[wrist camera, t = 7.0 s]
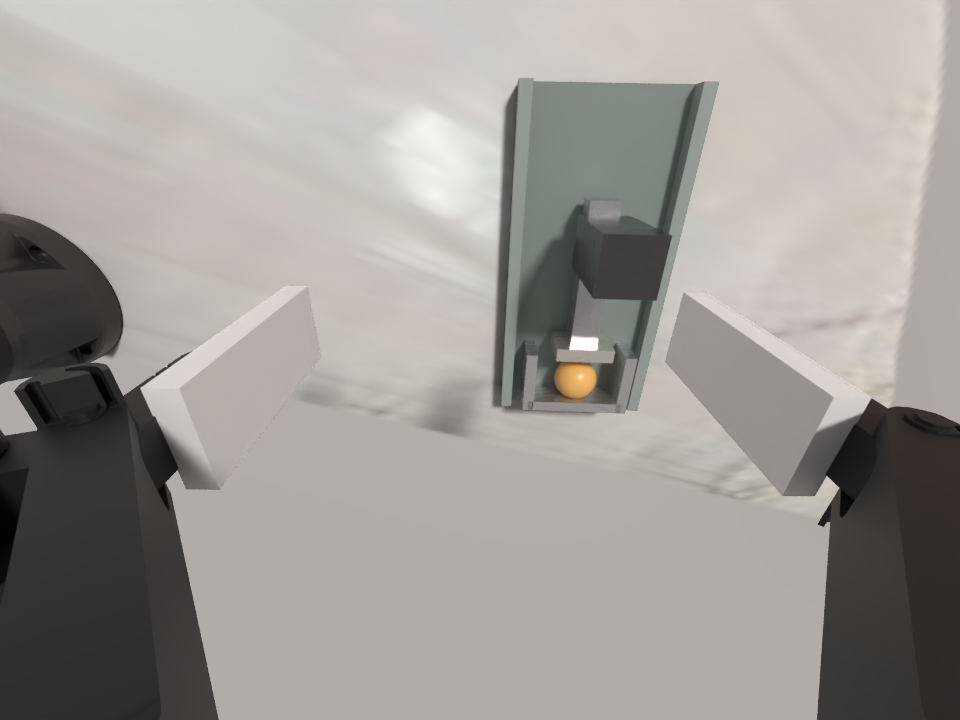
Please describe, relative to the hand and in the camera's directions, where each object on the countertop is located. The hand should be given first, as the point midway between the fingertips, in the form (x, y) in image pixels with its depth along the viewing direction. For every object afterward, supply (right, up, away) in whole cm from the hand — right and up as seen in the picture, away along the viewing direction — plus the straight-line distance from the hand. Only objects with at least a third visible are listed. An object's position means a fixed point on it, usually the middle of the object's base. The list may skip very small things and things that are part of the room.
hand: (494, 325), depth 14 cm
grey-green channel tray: (+9, +7, +22) cm, 25 cm away
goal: (+9, -2, +27) cm, 28 cm away
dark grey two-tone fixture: (+9, +6, +21) cm, 24 cm away
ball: (+9, -3, +24) cm, 26 cm away
